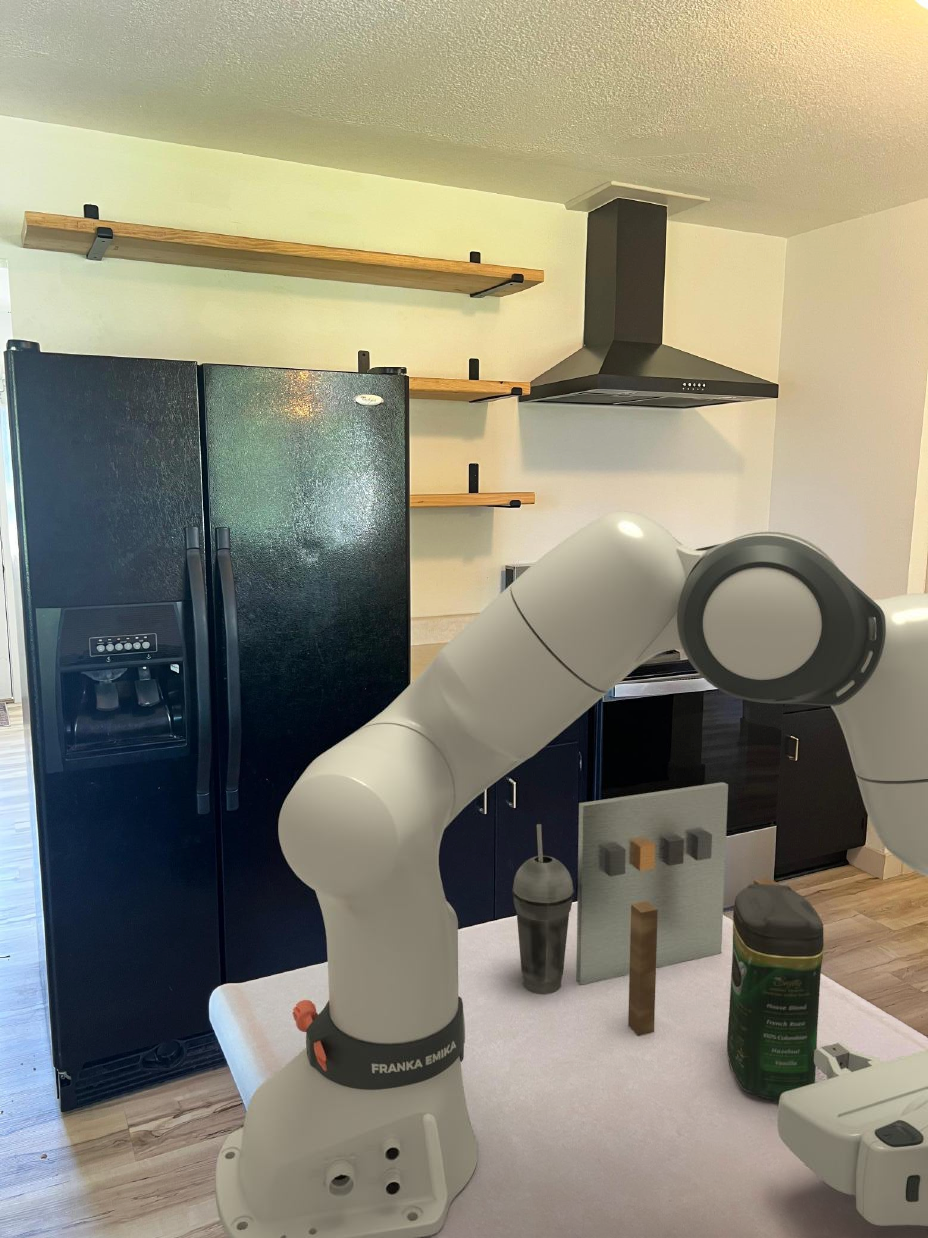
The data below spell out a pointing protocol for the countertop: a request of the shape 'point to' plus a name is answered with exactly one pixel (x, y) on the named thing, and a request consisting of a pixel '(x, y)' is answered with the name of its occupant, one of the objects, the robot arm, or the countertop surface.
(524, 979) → the beverage cup
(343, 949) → the robot arm
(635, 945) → the gate
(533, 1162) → the countertop surface
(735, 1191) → the countertop surface
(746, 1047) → the coffee jar
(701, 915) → the breaker panel
